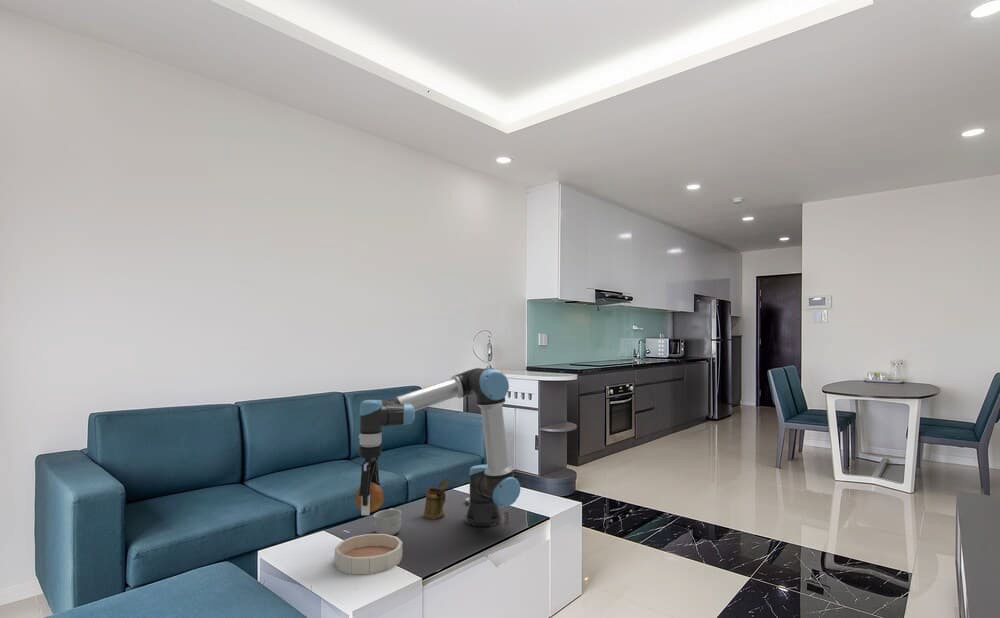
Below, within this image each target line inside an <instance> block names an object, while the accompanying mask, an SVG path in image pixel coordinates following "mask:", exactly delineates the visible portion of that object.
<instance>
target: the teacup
mask: <svg viewBox="0 0 1000 618" xmlns="http://www.w3.org/2000/svg"><path fill="white" fill-rule="evenodd" d="M373 526H374V531H375V533H376V534H387V535H391V536H395V535H396V534H397V533H398V532H399V531H400V530H401V528H402V511H401V510H399V509H394V508H393V507H391V508H388V509H383V510H379V511H377V512H375V513H373Z"/></svg>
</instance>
